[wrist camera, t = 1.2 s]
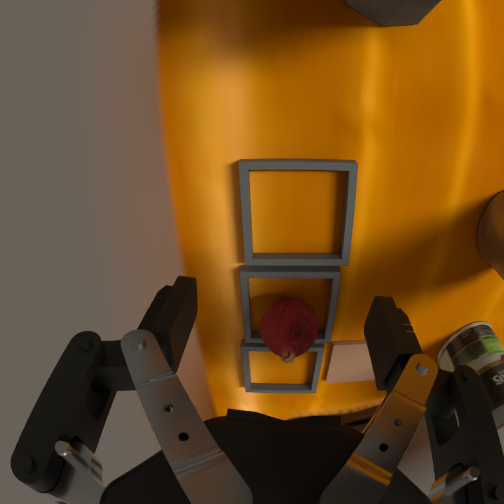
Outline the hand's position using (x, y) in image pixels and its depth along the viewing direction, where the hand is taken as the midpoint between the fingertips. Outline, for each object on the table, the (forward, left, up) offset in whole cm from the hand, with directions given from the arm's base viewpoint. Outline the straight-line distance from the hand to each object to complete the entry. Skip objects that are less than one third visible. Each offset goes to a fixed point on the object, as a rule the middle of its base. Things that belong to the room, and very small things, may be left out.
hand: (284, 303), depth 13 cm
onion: (-6, +11, -16) cm, 20 cm away
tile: (-19, +16, -15) cm, 29 cm away
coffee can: (-35, +8, -16) cm, 39 cm away
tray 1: (-2, +1, -15) cm, 16 cm away
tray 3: (-10, +21, -15) cm, 28 cm away
